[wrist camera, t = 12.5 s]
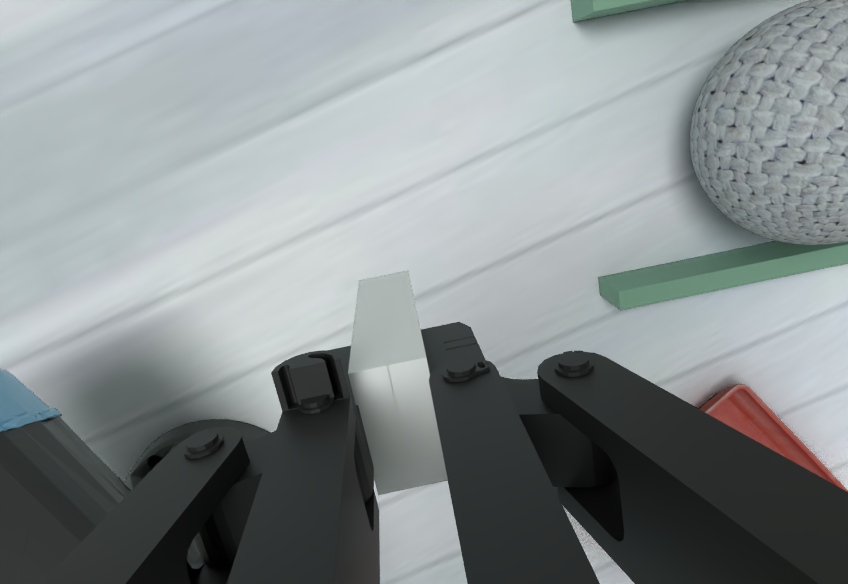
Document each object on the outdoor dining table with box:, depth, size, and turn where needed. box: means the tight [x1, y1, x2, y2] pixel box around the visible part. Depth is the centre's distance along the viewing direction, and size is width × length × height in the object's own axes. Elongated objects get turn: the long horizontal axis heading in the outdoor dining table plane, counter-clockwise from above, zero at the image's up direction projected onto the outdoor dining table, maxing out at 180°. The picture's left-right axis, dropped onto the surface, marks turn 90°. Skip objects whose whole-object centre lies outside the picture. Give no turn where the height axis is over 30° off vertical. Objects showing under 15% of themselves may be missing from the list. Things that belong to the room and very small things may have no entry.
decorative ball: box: [690, 0, 848, 245], centre depth 36 cm, size 15×15×15 cm
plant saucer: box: [700, 384, 848, 492], centre depth 51 cm, size 18×18×3 cm
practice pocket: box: [571, 0, 848, 310], centre depth 41 cm, size 22×22×4 cm
